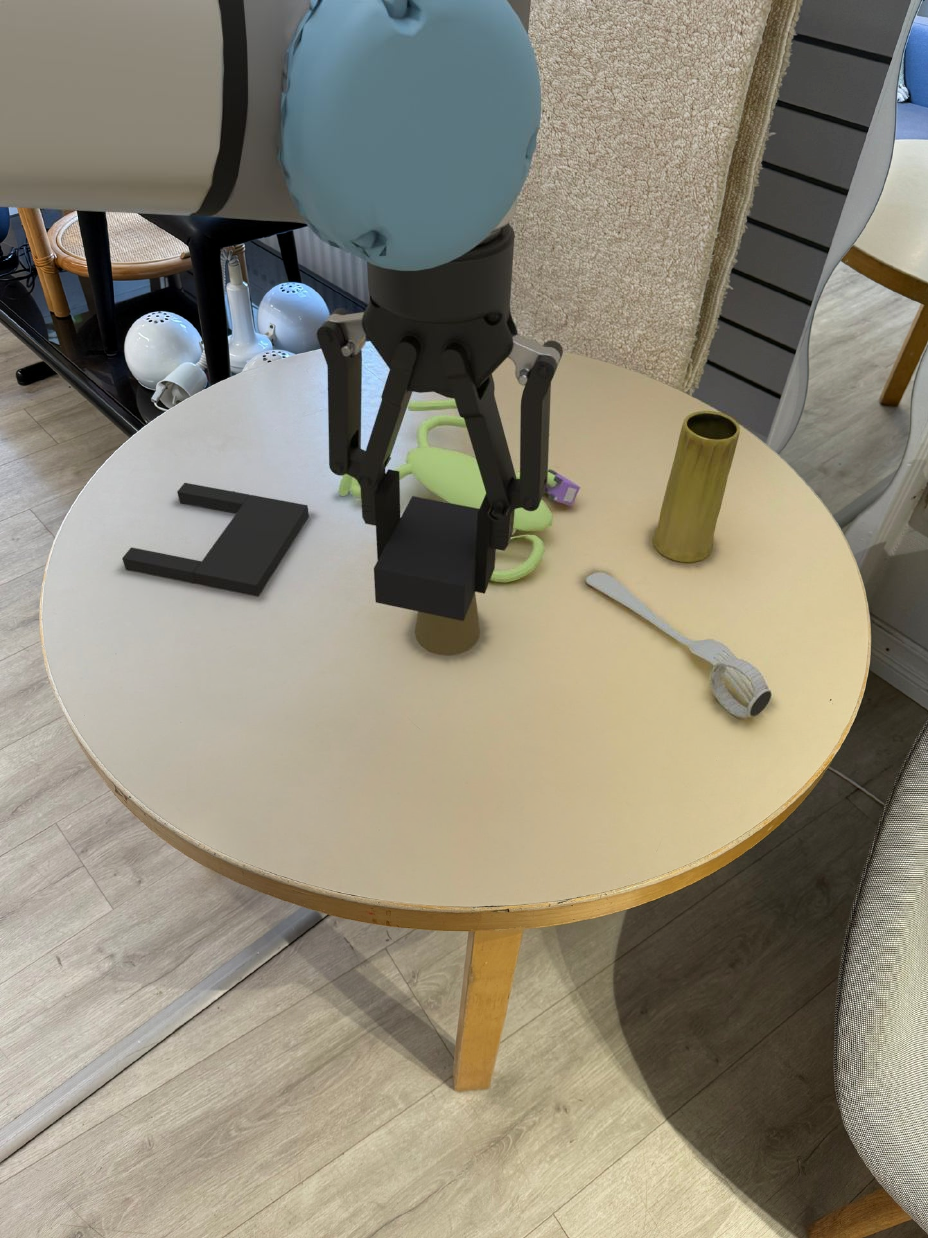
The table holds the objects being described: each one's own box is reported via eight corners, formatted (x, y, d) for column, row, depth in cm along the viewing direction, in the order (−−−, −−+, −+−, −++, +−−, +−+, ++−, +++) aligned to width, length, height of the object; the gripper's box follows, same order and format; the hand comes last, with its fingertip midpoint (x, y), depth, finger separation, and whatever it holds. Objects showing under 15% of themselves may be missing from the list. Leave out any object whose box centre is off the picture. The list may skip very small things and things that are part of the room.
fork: (599, 589, 92) (600, 567, 90) (770, 698, 79) (776, 674, 77) (579, 601, 90) (580, 578, 89) (750, 713, 77) (755, 689, 76)
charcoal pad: (375, 602, 59) (373, 567, 57) (412, 529, 65) (412, 495, 63) (463, 621, 58) (464, 587, 56) (493, 545, 64) (496, 511, 62)
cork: (452, 599, 87) (454, 507, 79) (493, 635, 83) (500, 542, 76) (401, 627, 84) (398, 534, 76) (442, 664, 81) (443, 571, 73)
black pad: (309, 516, 95) (307, 504, 94) (258, 596, 86) (256, 585, 85) (187, 493, 98) (184, 482, 97) (125, 569, 88) (121, 558, 87)
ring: (742, 732, 76) (758, 693, 72) (699, 695, 79) (711, 655, 75) (765, 717, 77) (781, 677, 74) (721, 681, 80) (735, 641, 77)
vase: (713, 532, 95) (747, 413, 85) (709, 568, 91) (743, 448, 81) (656, 521, 96) (682, 403, 86) (648, 556, 92) (675, 436, 82)
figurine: (435, 420, 109) (435, 378, 106) (616, 514, 97) (624, 470, 93) (319, 485, 99) (315, 441, 95) (505, 599, 87) (509, 554, 83)
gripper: (639, 217, 46) (584, 562, 62) (293, 172, 49) (326, 511, 65) (617, 276, 41) (563, 636, 57) (232, 222, 44) (284, 577, 60)
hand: (436, 569), depth 61 cm, fingers closed on charcoal pad, 6 cm apart
